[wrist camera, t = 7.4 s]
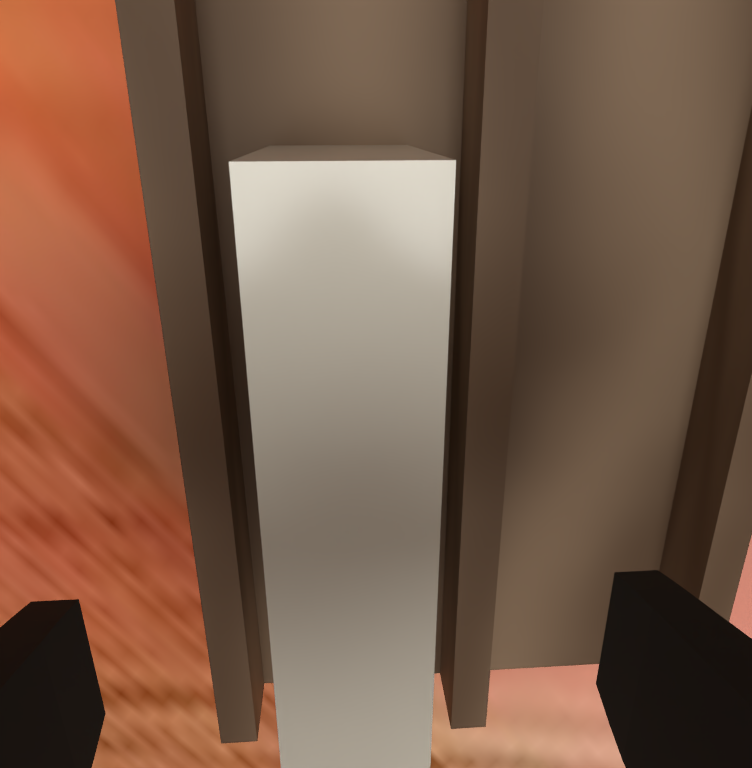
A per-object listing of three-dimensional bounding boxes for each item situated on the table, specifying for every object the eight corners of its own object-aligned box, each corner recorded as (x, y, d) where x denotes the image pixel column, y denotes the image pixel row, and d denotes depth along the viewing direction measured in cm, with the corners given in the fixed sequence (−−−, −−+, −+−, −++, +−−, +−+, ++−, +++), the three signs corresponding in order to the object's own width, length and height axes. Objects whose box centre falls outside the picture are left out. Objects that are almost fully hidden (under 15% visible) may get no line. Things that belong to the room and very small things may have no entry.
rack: (220, 660, 21) (203, 744, 18) (127, -28, 13) (74, -66, 11) (671, 635, 21) (721, 711, 19) (815, -25, 14) (932, -60, 11)
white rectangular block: (297, 587, 18) (282, 787, 13) (269, 145, 14) (229, 161, 8) (400, 583, 19) (429, 778, 13) (406, 144, 14) (456, 160, 8)
